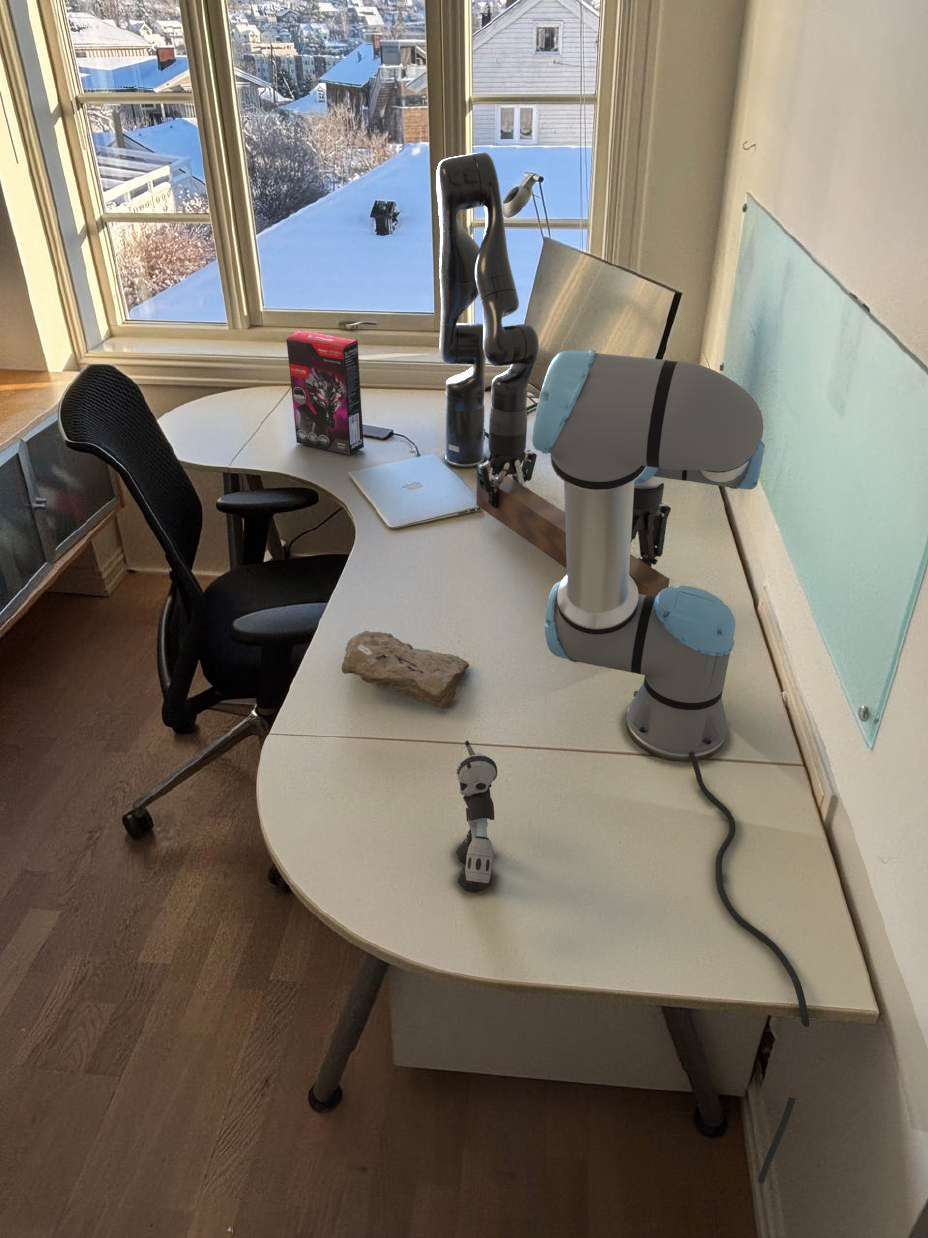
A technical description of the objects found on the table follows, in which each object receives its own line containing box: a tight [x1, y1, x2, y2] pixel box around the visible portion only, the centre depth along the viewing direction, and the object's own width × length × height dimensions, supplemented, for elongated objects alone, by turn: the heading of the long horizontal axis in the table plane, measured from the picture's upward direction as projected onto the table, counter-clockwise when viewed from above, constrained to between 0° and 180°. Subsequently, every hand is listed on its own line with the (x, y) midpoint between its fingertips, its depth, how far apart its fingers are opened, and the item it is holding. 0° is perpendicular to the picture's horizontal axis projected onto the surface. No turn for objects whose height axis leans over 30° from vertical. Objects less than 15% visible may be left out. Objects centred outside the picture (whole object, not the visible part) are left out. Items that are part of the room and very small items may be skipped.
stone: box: [341, 630, 470, 709], centre depth 151 cm, size 21×15×6 cm
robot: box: [455, 740, 498, 893], centre depth 114 cm, size 20×5×20 cm, turn 3°
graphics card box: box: [285, 330, 365, 456], centre depth 225 cm, size 17×7×27 cm, turn 62°
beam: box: [475, 469, 670, 597], centre depth 179 cm, size 53×5×7 cm, turn 33°
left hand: (505, 503), depth 193 cm, fingers closed on beam, 5 cm apart
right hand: (627, 596), depth 167 cm, fingers closed on beam, 5 cm apart
